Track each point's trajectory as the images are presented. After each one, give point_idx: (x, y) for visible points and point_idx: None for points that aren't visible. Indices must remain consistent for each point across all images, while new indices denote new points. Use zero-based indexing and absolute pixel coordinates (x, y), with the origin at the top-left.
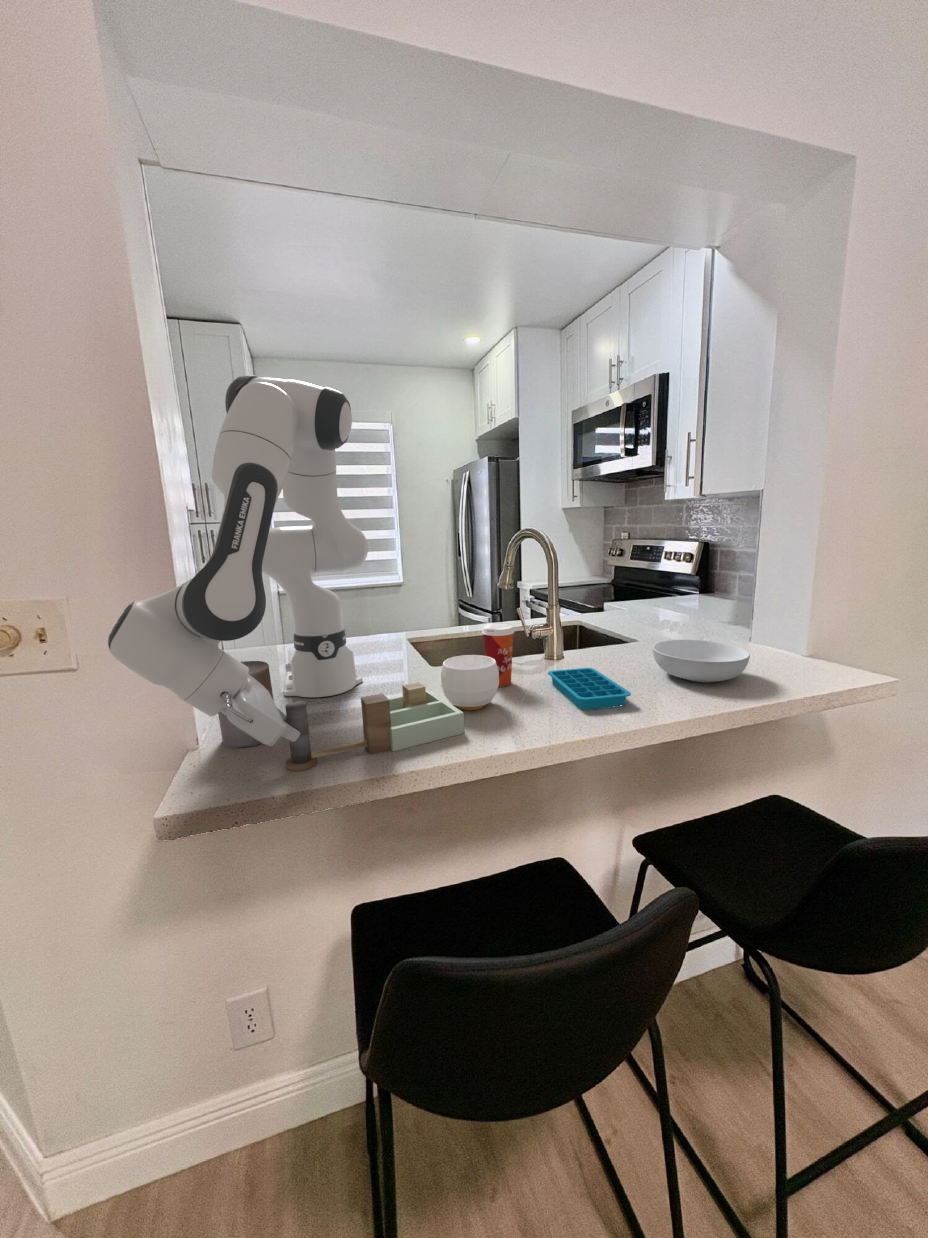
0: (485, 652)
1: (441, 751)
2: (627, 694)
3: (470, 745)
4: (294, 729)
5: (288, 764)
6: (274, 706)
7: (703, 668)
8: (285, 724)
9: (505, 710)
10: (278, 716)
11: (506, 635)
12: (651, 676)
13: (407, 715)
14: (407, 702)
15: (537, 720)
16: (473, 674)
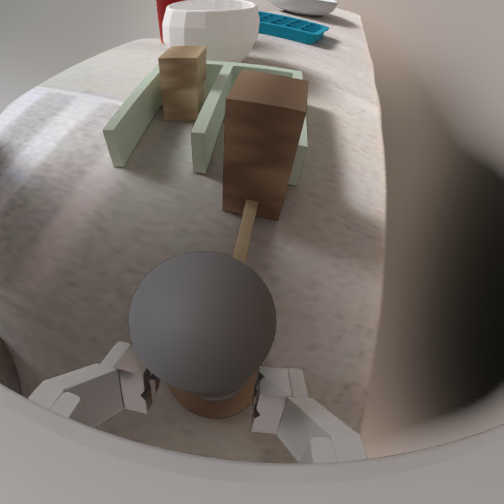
0: (165, 4)
1: (340, 143)
2: (327, 27)
3: (340, 117)
4: (306, 389)
5: (223, 414)
6: (233, 488)
7: (327, 6)
8: (354, 433)
9: (259, 59)
10: (473, 463)
11: None
12: (276, 13)
13: (219, 106)
14: (185, 85)
15: (310, 62)
16: (252, 15)
